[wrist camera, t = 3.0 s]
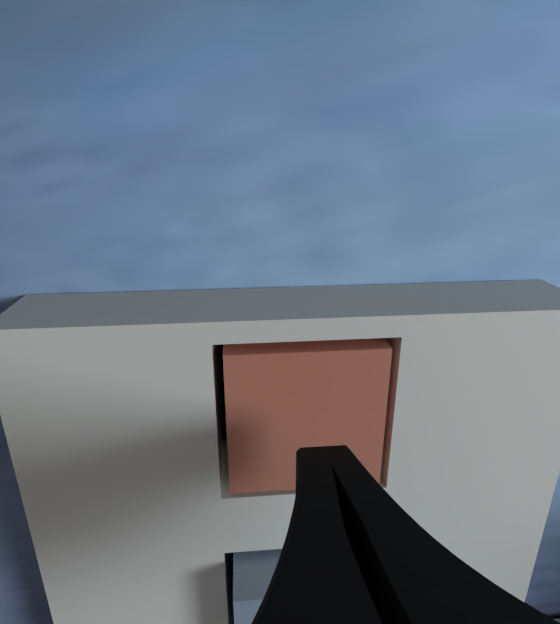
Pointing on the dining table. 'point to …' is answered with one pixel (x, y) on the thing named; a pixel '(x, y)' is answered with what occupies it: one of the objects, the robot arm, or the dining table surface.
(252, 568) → the slate blue key
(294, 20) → the dining table surface
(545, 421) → the key panel
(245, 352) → the brick red key
